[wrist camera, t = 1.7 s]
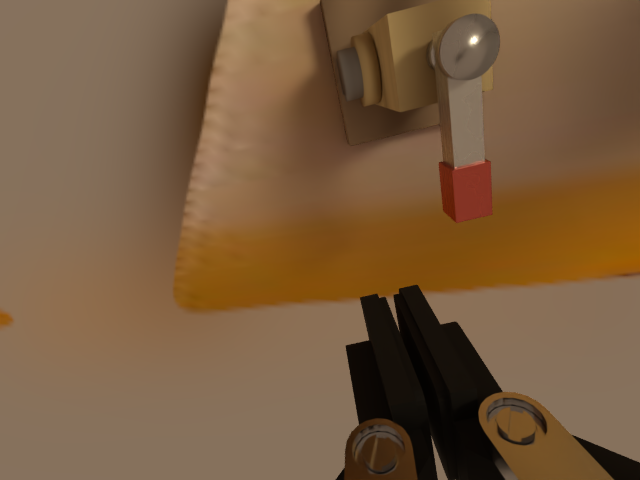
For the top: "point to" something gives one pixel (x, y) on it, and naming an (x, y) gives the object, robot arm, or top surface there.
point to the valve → (389, 61)
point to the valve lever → (463, 112)
